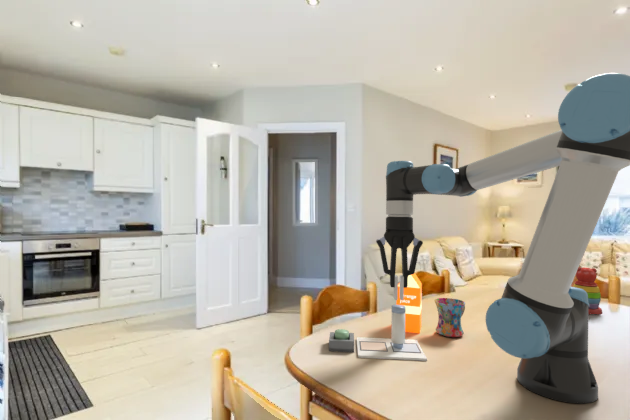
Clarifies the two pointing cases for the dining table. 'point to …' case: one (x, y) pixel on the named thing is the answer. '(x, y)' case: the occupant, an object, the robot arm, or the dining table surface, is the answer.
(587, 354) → the robot arm
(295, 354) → the dining table surface
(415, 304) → the orange juice
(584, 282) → the stacking bear
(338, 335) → the button
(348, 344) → the button housing
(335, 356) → the dining table surface
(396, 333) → the cylinder
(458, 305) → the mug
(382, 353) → the sheet
